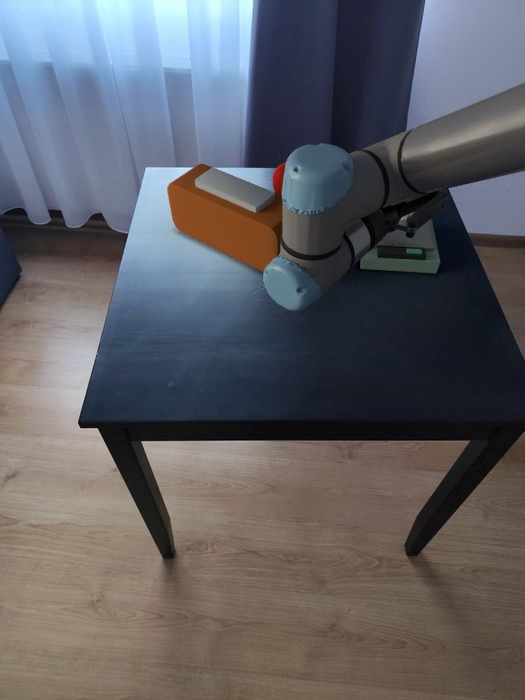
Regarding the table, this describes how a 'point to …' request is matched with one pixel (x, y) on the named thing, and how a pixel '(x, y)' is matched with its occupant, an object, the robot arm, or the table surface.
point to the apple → (278, 178)
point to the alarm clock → (228, 214)
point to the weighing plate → (409, 239)
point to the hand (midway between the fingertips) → (428, 166)
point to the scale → (403, 258)
